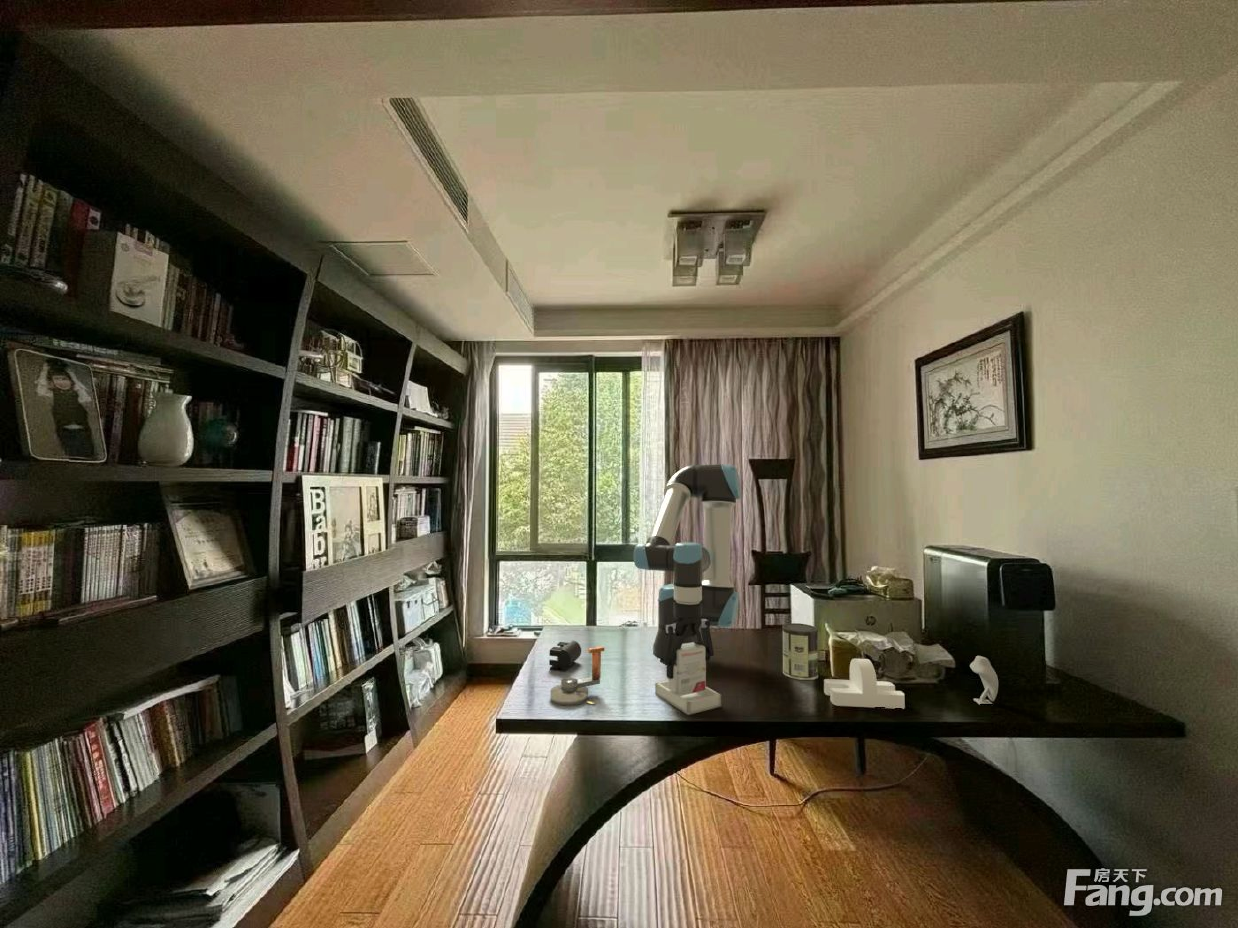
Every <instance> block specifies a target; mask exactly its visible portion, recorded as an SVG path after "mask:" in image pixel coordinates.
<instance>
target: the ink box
mask: <svg viewBox="0 0 1238 928" xmlns="http://www.w3.org/2000/svg"><path fill="white" fill-rule="evenodd" d="M675 666H677V692H675V693H676V694H678V695H680V696H683V695H687V694H691V693H695V692H699V691H704V690H705V686H706V685H705V647H704V646H703V645H698V644H696V643H694V642H692V643H686V644H682V646H681V649H678V650H677V660H676V662H675Z"/></svg>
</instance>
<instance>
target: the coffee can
mask: <svg viewBox="0 0 1238 928" xmlns="http://www.w3.org/2000/svg"><path fill="white" fill-rule="evenodd" d="M781 628H782V629H781V630H782V673H783V675H784V676H785V677H788V678H791V679H793V680H798V681H799V680H800V681H813V680H817V679H819V669H818V668H819V667H818V666H819V665H818V664H819V663H818V661H819V660H818V659H819V658H818V654H819V653H818V651H819V649H818V632H819V629H818V628H817V627H816V626H814V625H811V624H805V623H800V622H799V623H798V622H797V623H795V622H793V623H789V622H788V623H784V624H783V625H782V626H781Z"/></svg>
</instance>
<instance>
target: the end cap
mask: <svg viewBox="0 0 1238 928" xmlns="http://www.w3.org/2000/svg"><path fill="white" fill-rule="evenodd" d="M581 655H582V646H581V645H580V643H579V642H578V641H576V640H573V639H572V640H571V641H570V642H563V641H559V642H558V643H557V644H556V646H553V647H551V648H550V649H549V657H556V659H548V660H549V662H548V663H549V664H548V665H549V666H550V667H549V670H550V671H557V672H563V671H566V670H567V669H568V668H570V666H571V665H572V664H573V663H575V662H576V661H577V660H578V659H579V657H580V656H581Z"/></svg>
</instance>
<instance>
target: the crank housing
mask: <svg viewBox="0 0 1238 928" xmlns="http://www.w3.org/2000/svg"><path fill="white" fill-rule="evenodd" d="M549 694H550V698H549V699H550V702H551V703H552V704H555V705H557V706H563V707H574V706H579V705H582V704H584V703H585V704H588V705H591V706H595V705H596V703H595V702H592V701H590V700H588V699H589V689H588V686H586V687H581V688H578V689H577V690H576V691H573V692H565V691H562V690H561V683H560V684H557V685H555V686H553V687H552V688H551V689H550V693H549Z"/></svg>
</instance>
